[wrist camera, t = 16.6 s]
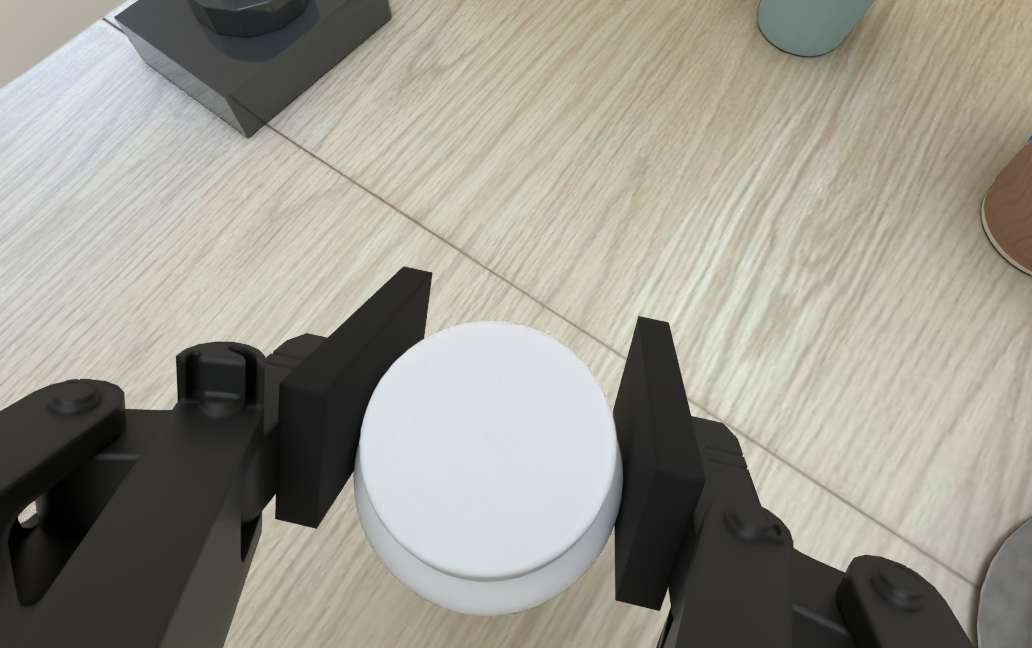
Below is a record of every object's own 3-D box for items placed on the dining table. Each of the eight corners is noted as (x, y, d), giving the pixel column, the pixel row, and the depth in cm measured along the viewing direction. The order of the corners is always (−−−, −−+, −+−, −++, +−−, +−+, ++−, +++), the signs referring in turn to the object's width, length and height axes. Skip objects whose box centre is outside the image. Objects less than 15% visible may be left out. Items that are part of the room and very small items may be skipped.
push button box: (248, 138, 36) (210, 72, 31) (143, 61, 38) (93, -12, 33) (392, 17, 39) (377, -58, 35) (290, -47, 41) (263, -126, 37)
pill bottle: (359, 513, 18) (236, 450, 9) (484, 378, 19) (471, 225, 11) (501, 652, 16) (502, 718, 8) (622, 495, 18) (724, 420, 10)
